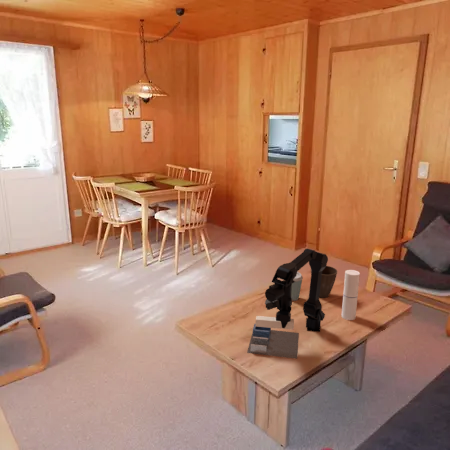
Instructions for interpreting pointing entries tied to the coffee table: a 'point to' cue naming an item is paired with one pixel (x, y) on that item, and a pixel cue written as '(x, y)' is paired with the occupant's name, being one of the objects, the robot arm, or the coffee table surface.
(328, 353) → the coffee table surface
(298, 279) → the disposable coffee cup
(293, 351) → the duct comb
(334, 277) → the plant pot
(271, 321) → the long cream bar
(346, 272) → the cylindrical container
